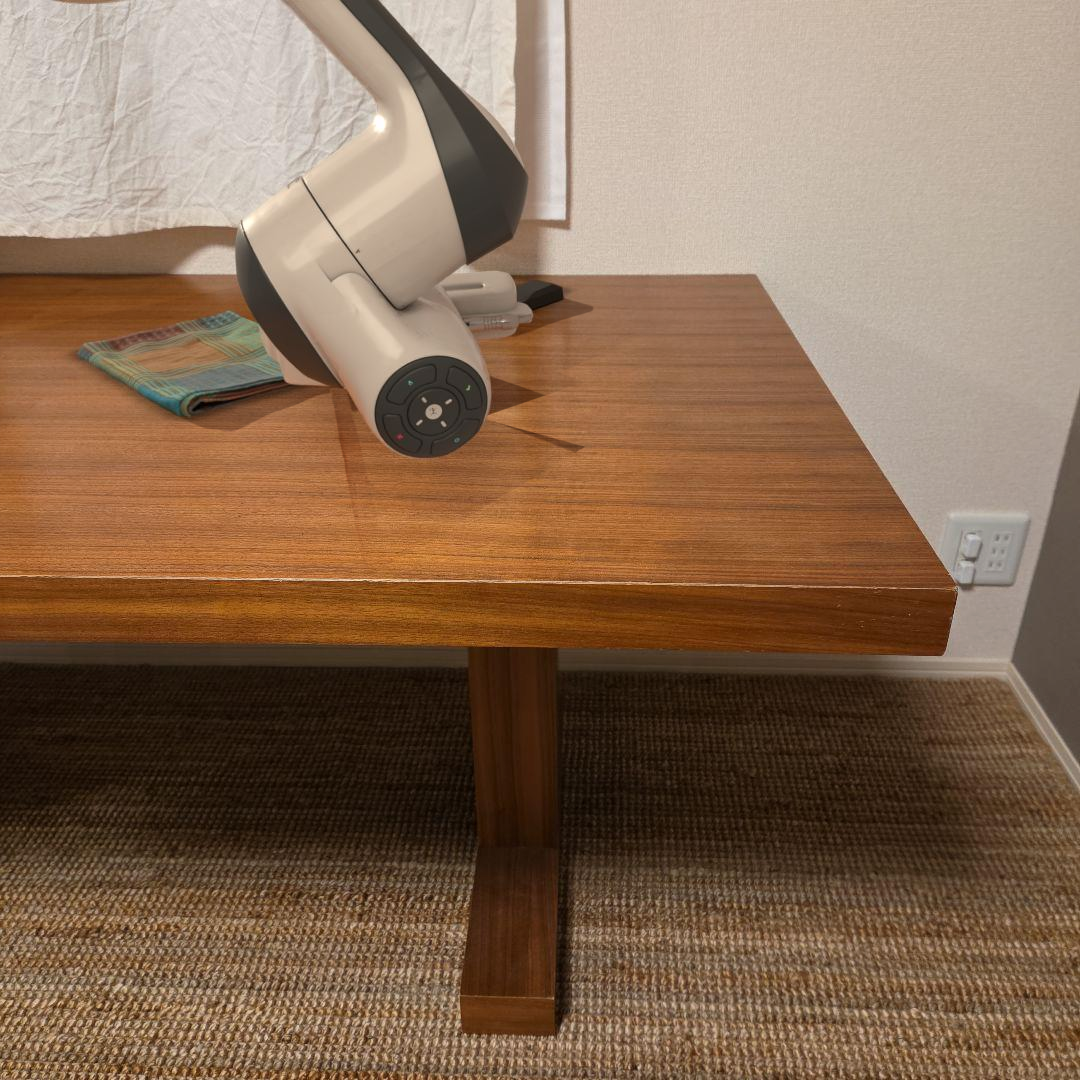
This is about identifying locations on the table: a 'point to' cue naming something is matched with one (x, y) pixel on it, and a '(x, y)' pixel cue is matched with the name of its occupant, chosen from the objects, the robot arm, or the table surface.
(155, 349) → the dish towel
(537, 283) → the remote control
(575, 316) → the table surface
